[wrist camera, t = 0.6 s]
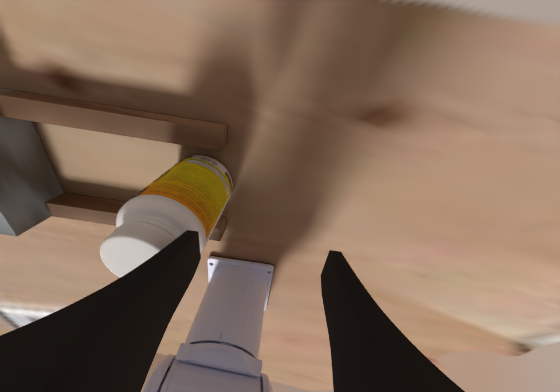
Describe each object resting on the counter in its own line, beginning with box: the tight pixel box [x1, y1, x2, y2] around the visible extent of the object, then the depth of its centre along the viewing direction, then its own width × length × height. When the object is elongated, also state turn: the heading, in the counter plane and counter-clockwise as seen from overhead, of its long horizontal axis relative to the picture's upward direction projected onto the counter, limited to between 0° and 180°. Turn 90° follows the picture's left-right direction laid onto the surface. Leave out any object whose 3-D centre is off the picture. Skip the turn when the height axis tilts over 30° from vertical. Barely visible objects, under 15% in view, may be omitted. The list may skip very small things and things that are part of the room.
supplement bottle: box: [100, 155, 233, 278], centre depth 16 cm, size 6×6×10 cm
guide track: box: [0, 88, 227, 241], centre depth 18 cm, size 11×19×5 cm, turn 82°
